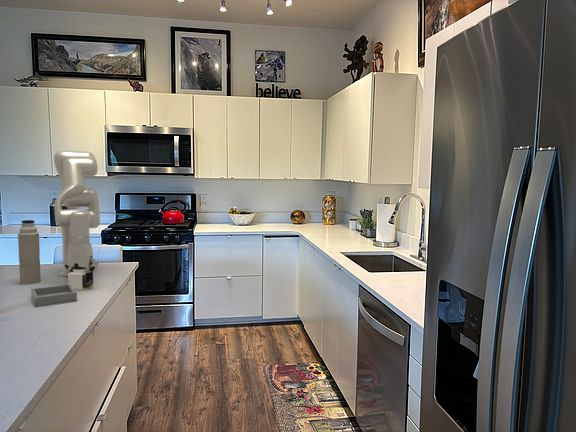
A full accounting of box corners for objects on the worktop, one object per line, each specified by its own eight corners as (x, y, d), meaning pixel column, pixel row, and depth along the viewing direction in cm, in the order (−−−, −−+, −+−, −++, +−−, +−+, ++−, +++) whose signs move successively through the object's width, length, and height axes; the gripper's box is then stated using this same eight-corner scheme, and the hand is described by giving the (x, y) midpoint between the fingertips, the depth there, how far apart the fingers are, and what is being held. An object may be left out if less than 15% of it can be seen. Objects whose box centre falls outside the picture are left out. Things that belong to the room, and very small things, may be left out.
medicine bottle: (82, 290, 178) (82, 263, 176) (68, 289, 179) (67, 261, 178) (93, 286, 185) (93, 259, 183) (79, 284, 186) (78, 258, 185)
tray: (31, 297, 167) (31, 288, 166) (70, 292, 175) (70, 284, 175) (35, 307, 155) (35, 298, 155) (76, 301, 164) (76, 292, 163)
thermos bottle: (37, 278, 194) (35, 218, 191) (43, 282, 189) (41, 220, 186) (17, 281, 188) (15, 220, 185) (23, 285, 183) (20, 221, 180)
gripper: (55, 240, 177) (56, 281, 179) (93, 242, 175) (94, 283, 177) (67, 237, 185) (68, 276, 186) (103, 239, 182) (104, 279, 184)
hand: (80, 280), depth 181 cm, fingers closed on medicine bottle, 7 cm apart
